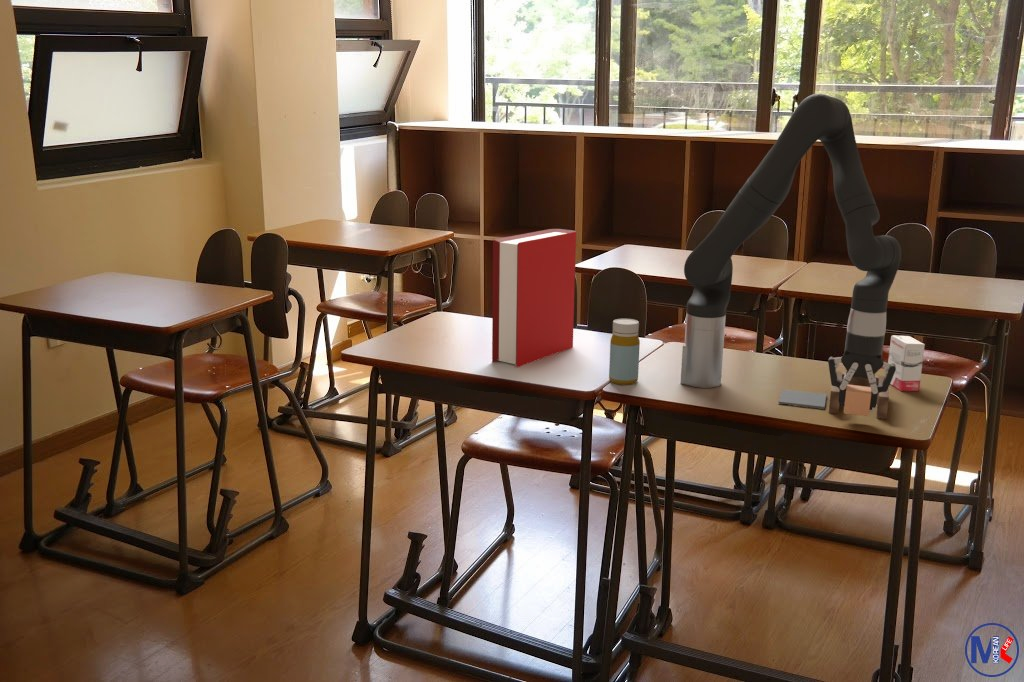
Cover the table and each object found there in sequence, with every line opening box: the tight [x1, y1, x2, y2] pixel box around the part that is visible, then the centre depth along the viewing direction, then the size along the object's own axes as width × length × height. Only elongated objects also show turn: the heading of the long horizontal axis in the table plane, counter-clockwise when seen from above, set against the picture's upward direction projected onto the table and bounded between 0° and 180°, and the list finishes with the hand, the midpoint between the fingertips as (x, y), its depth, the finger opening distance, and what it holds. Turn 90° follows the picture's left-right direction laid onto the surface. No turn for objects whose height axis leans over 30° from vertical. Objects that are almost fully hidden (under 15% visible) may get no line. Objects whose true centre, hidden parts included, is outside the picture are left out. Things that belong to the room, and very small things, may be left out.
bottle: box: [608, 318, 641, 386], centre depth 233 cm, size 7×7×15 cm
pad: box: [778, 388, 827, 410], centre depth 222 cm, size 10×10×1 cm
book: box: [491, 228, 577, 368], centre depth 255 cm, size 27×8×32 cm, turn 143°
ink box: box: [887, 334, 926, 392], centre depth 233 cm, size 8×5×12 cm, turn 3°
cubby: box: [828, 370, 890, 420], centre depth 219 cm, size 12×17×5 cm
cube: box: [843, 385, 871, 417], centre depth 206 cm, size 5×5×5 cm
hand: (856, 406), depth 207 cm, fingers closed on cube, 5 cm apart
